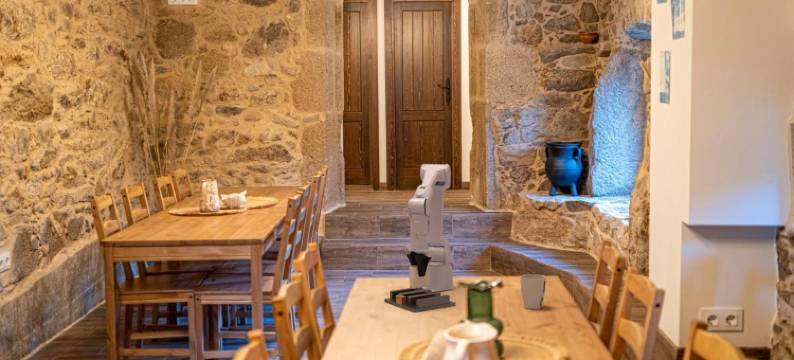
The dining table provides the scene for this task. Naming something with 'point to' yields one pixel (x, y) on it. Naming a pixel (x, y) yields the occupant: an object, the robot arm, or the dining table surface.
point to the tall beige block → (418, 278)
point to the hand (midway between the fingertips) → (419, 275)
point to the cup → (533, 290)
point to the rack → (418, 299)
